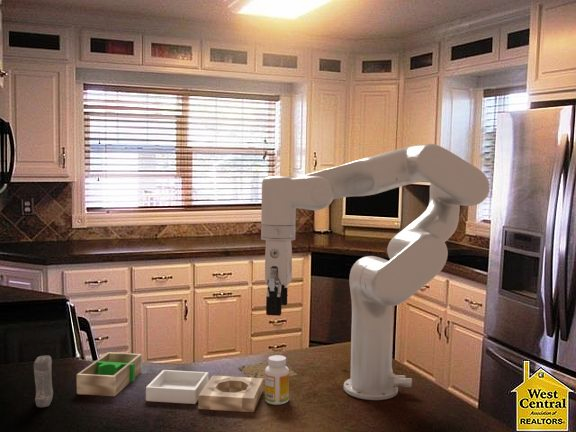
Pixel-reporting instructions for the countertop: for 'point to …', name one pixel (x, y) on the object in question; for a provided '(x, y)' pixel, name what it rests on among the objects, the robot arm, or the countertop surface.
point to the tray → (177, 386)
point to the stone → (43, 381)
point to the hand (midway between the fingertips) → (277, 309)
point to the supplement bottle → (276, 380)
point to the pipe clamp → (114, 368)
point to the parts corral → (107, 383)
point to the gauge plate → (231, 393)
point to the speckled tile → (259, 370)
